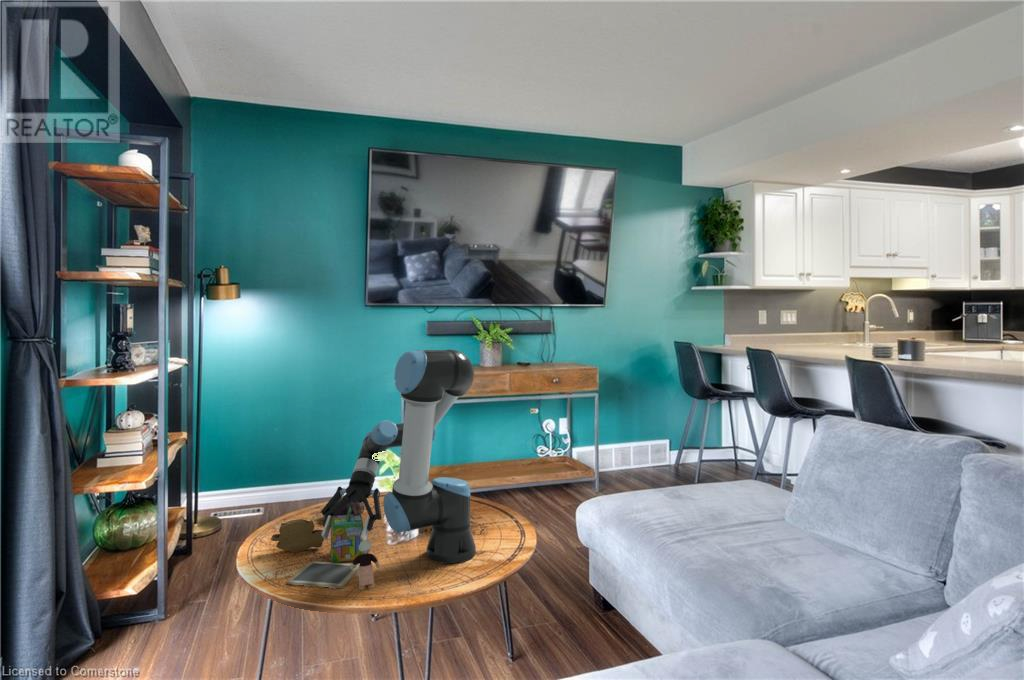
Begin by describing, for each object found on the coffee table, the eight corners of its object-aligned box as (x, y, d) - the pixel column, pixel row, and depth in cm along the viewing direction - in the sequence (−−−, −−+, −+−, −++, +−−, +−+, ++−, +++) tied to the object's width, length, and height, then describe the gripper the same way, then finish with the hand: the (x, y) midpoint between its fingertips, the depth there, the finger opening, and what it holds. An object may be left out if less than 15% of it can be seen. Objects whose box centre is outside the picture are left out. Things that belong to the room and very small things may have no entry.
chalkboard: (362, 567, 168) (362, 564, 168) (341, 588, 154) (341, 585, 154) (311, 563, 171) (311, 561, 171) (285, 584, 157) (285, 581, 157)
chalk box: (330, 552, 179) (330, 505, 179) (360, 549, 182) (360, 502, 182) (331, 564, 170) (331, 514, 170) (363, 560, 173) (363, 511, 173)
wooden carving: (326, 544, 186) (326, 514, 185) (326, 550, 181) (326, 518, 181) (271, 551, 180) (271, 519, 180) (270, 556, 176) (269, 524, 176)
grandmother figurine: (377, 581, 159) (376, 536, 159) (380, 587, 155) (380, 540, 155) (348, 587, 155) (348, 540, 155) (352, 593, 152) (351, 545, 152)
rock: (336, 517, 217) (326, 525, 207) (333, 494, 217) (323, 501, 207) (367, 512, 216) (358, 521, 206) (363, 490, 216) (354, 497, 206)
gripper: (401, 483, 189) (384, 546, 174) (333, 479, 193) (310, 541, 178) (396, 470, 184) (377, 535, 169) (325, 467, 188) (301, 530, 173)
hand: (343, 538), depth 173 cm, fingers closed on chalk box, 12 cm apart
